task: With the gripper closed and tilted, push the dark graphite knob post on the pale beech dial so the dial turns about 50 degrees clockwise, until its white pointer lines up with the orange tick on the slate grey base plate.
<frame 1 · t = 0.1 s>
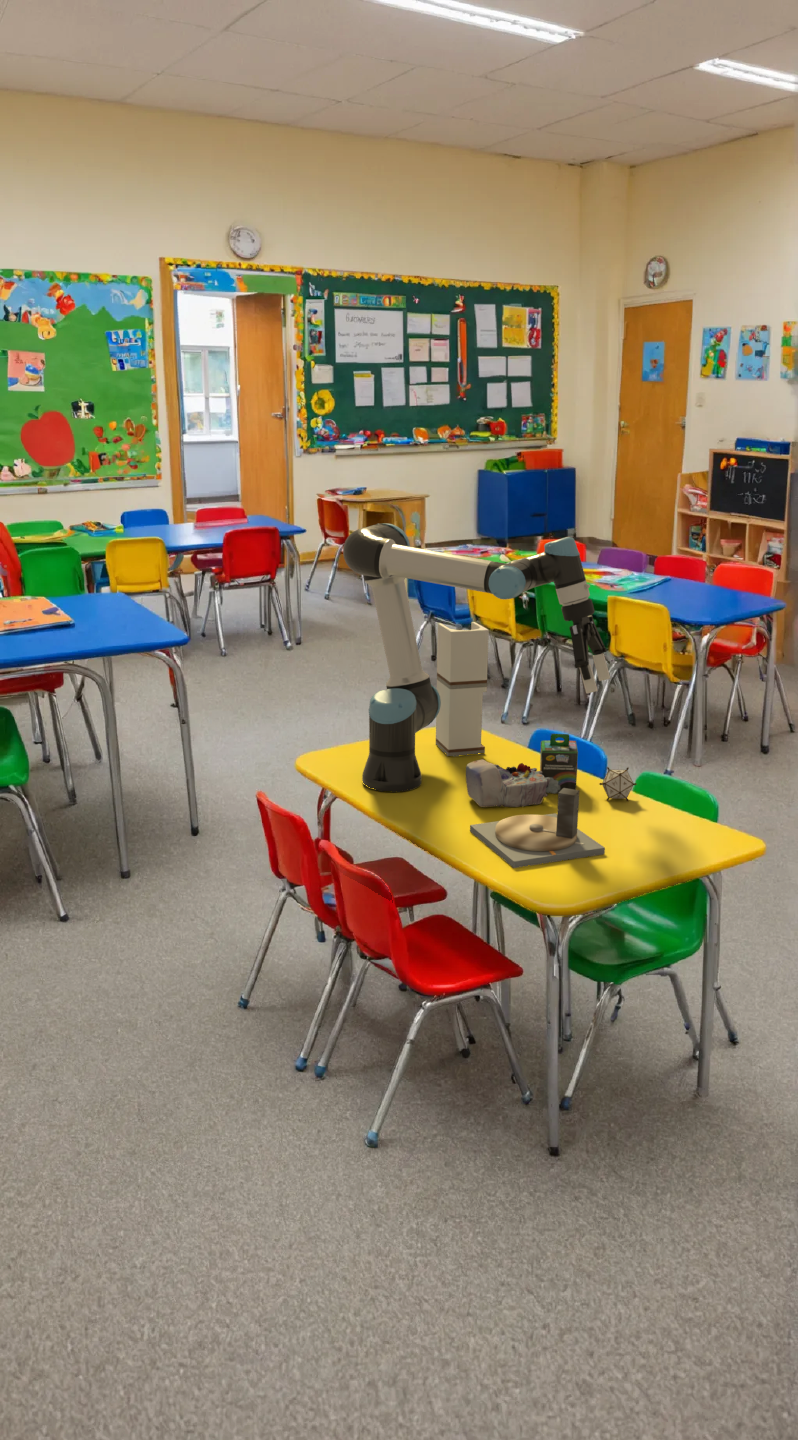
hand: (598, 685, 272), 28 cm above the table, tool tilted 20°, fingers open, 13 cm apart
tall cream pedestal vase: (459, 749, 314), on the table
dial base plate: (535, 842, 249), on the table
game die: (616, 800, 276), on the table
cell model: (507, 802, 274), on the table
chalk box: (557, 789, 284), on the table
dial: (537, 811, 247), point 7 cm above the table, hinge at 0.0°
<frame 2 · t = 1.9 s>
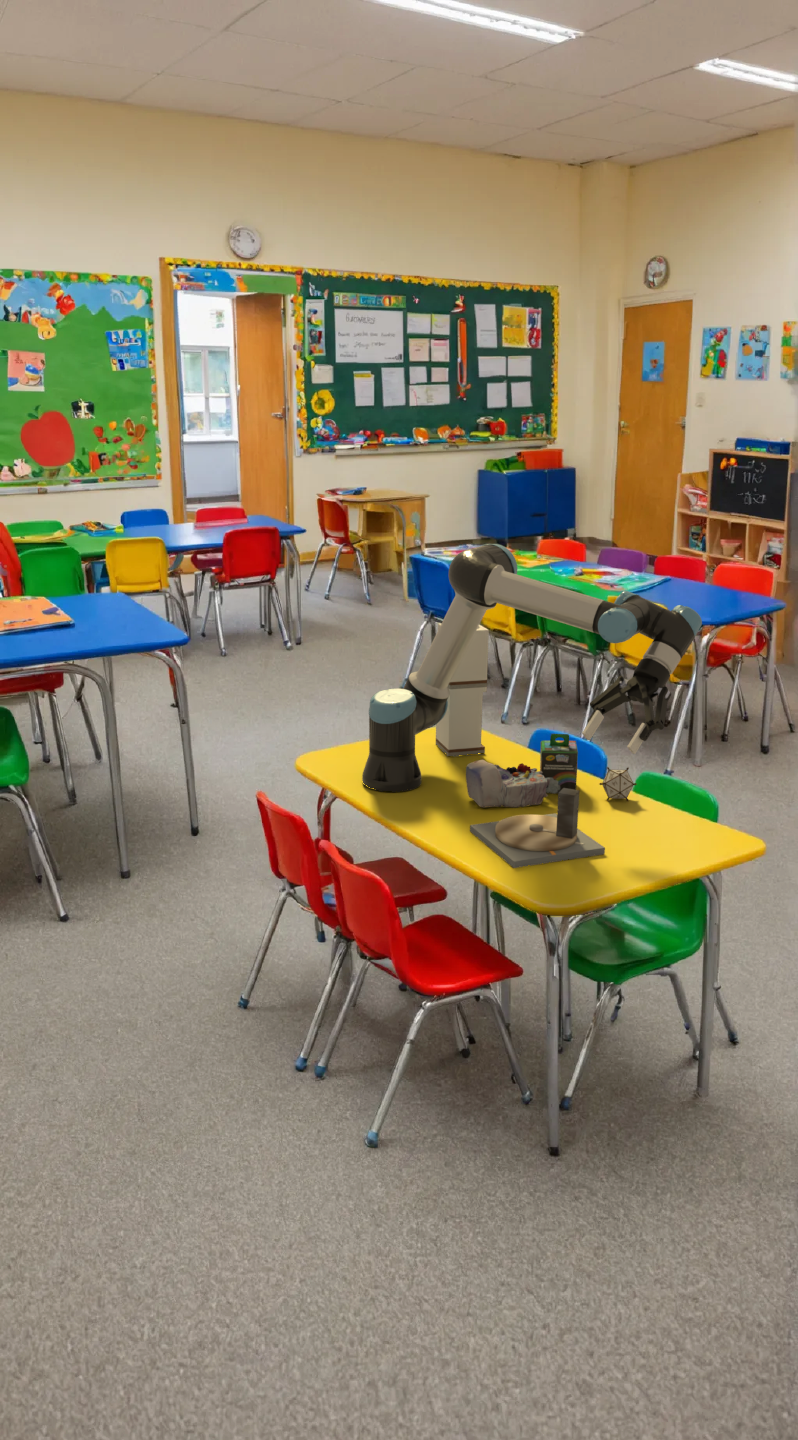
hand: (607, 743, 247), 22 cm above the table, tool tilted 45°, fingers open, 12 cm apart
nothing on the table moved.
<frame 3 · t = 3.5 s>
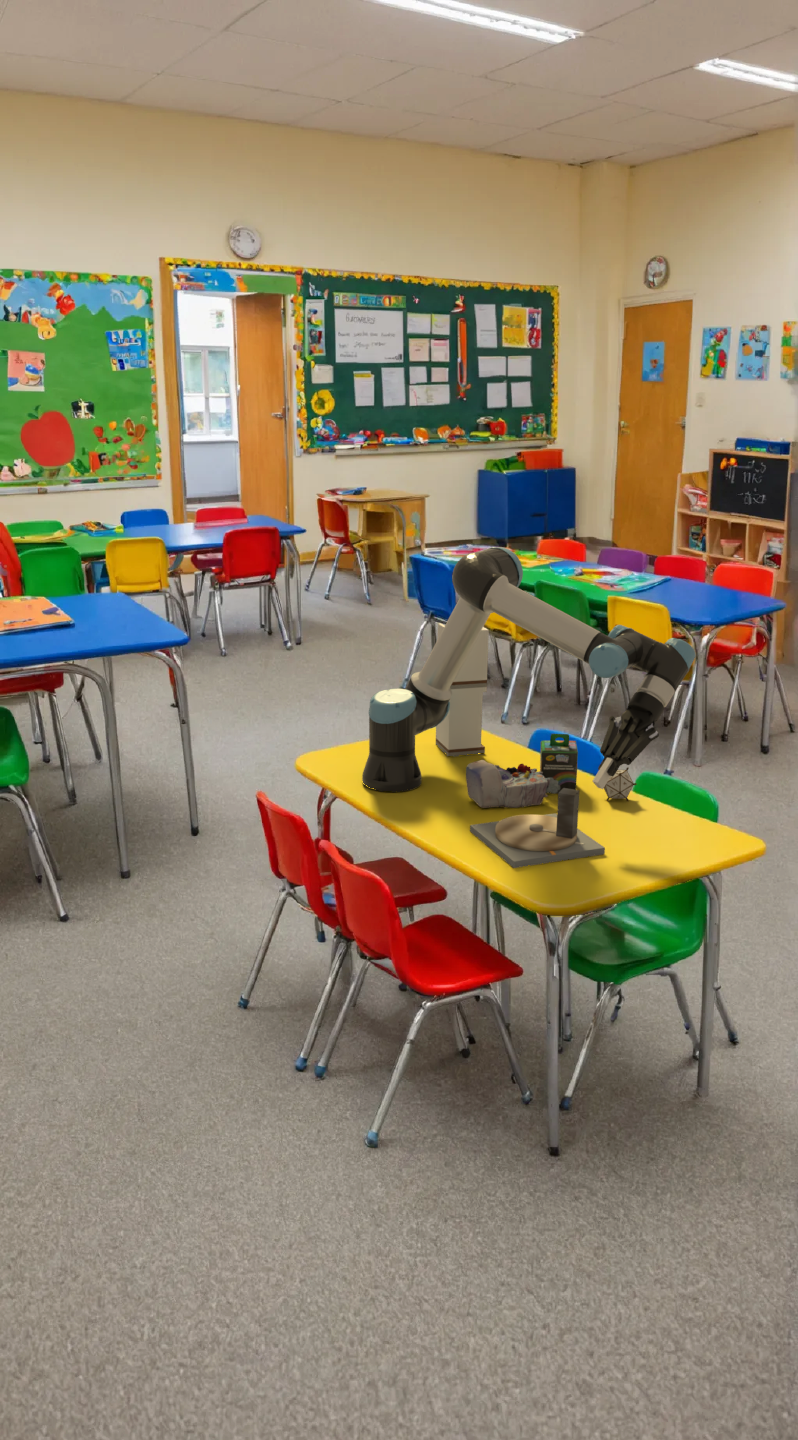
hand: (597, 785, 247), 13 cm above the table, tool tilted 45°, fingers closed
nothing on the table moved.
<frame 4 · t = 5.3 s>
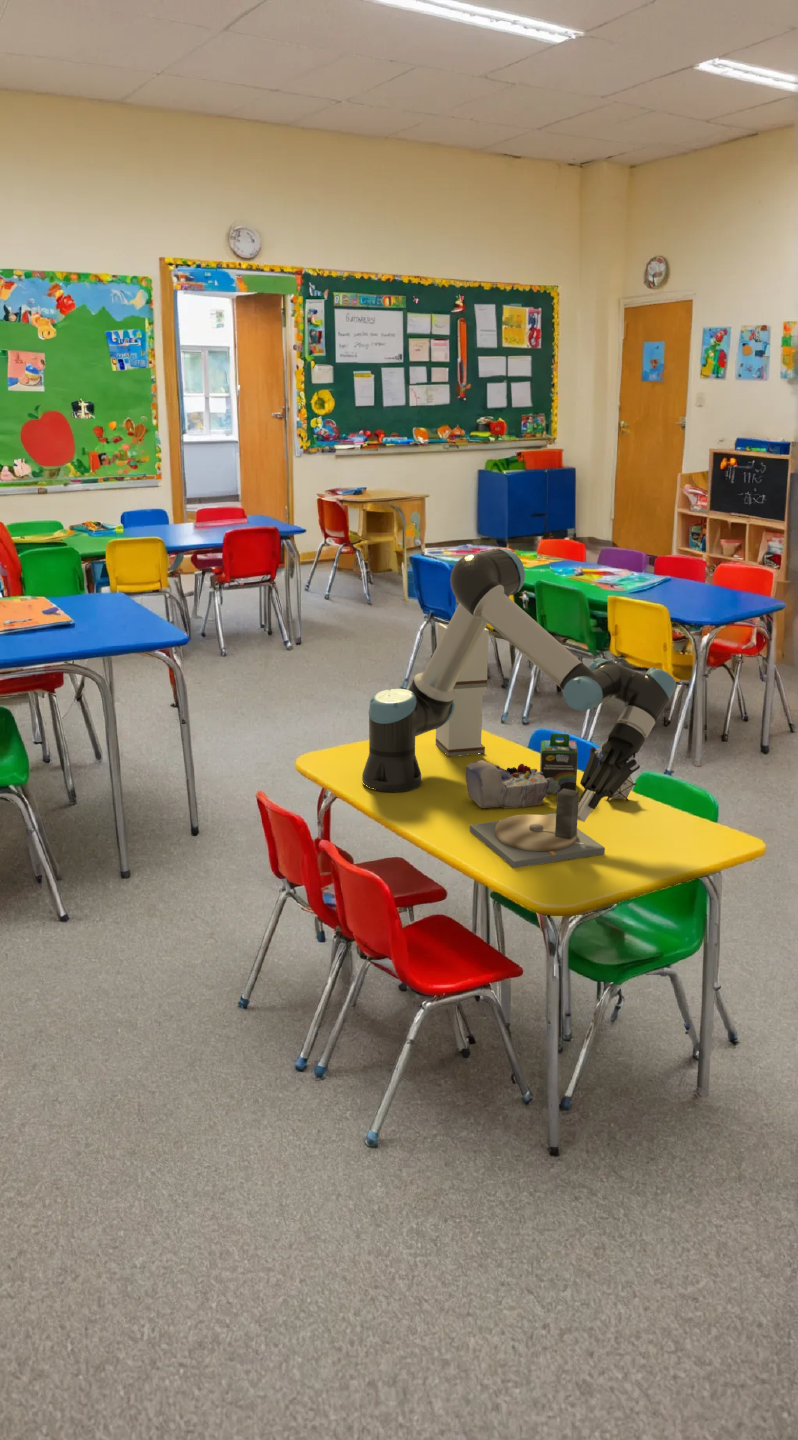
hand: (578, 818, 246), 6 cm above the table, tool tilted 45°, fingers closed
dial: (537, 811, 247), point 7 cm above the table, hinge at -4.1°, touching gripper
everything else where it was.
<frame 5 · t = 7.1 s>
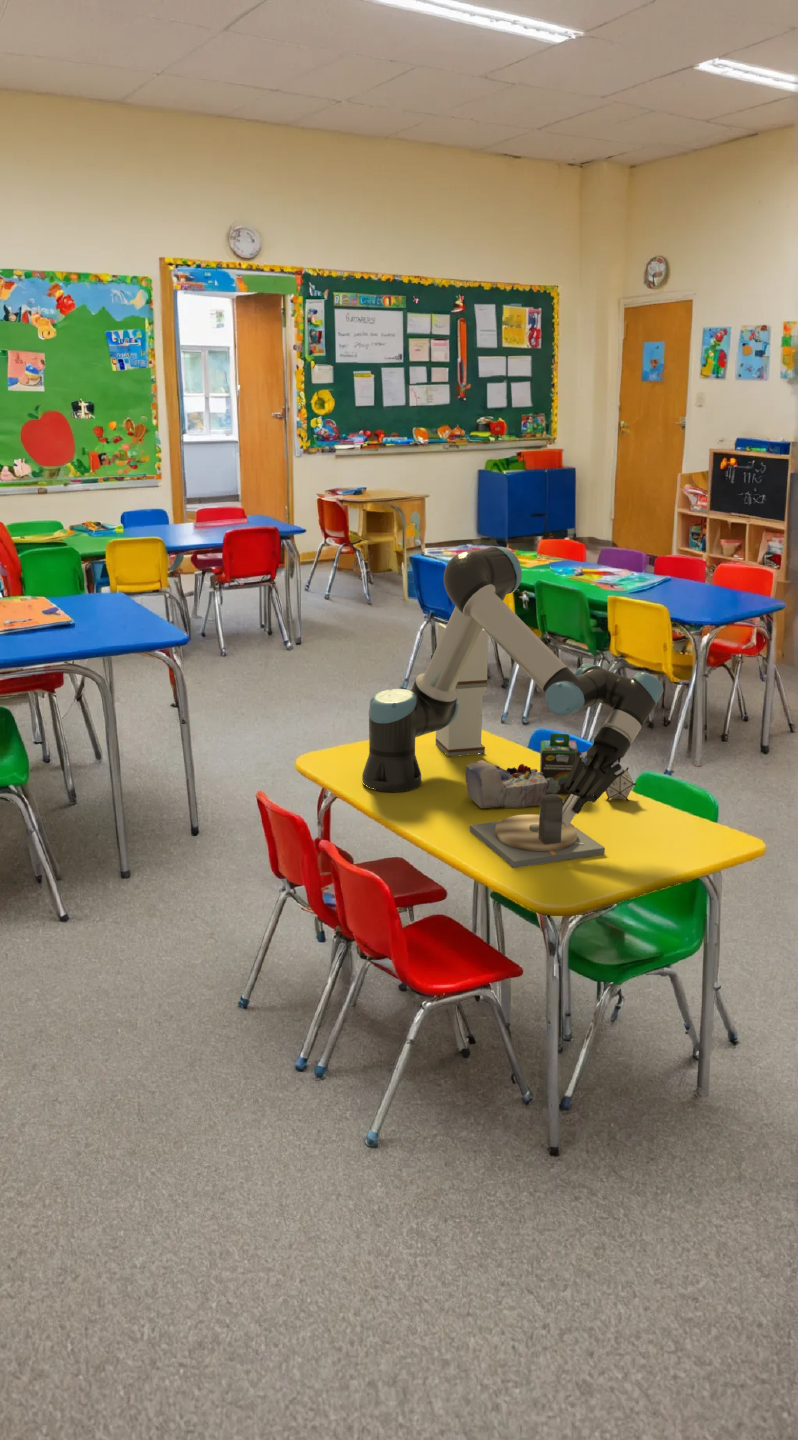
hand: (561, 822, 243), 7 cm above the table, tool tilted 45°, fingers closed
dial: (537, 811, 247), point 7 cm above the table, hinge at -46.8°
everything else where it was.
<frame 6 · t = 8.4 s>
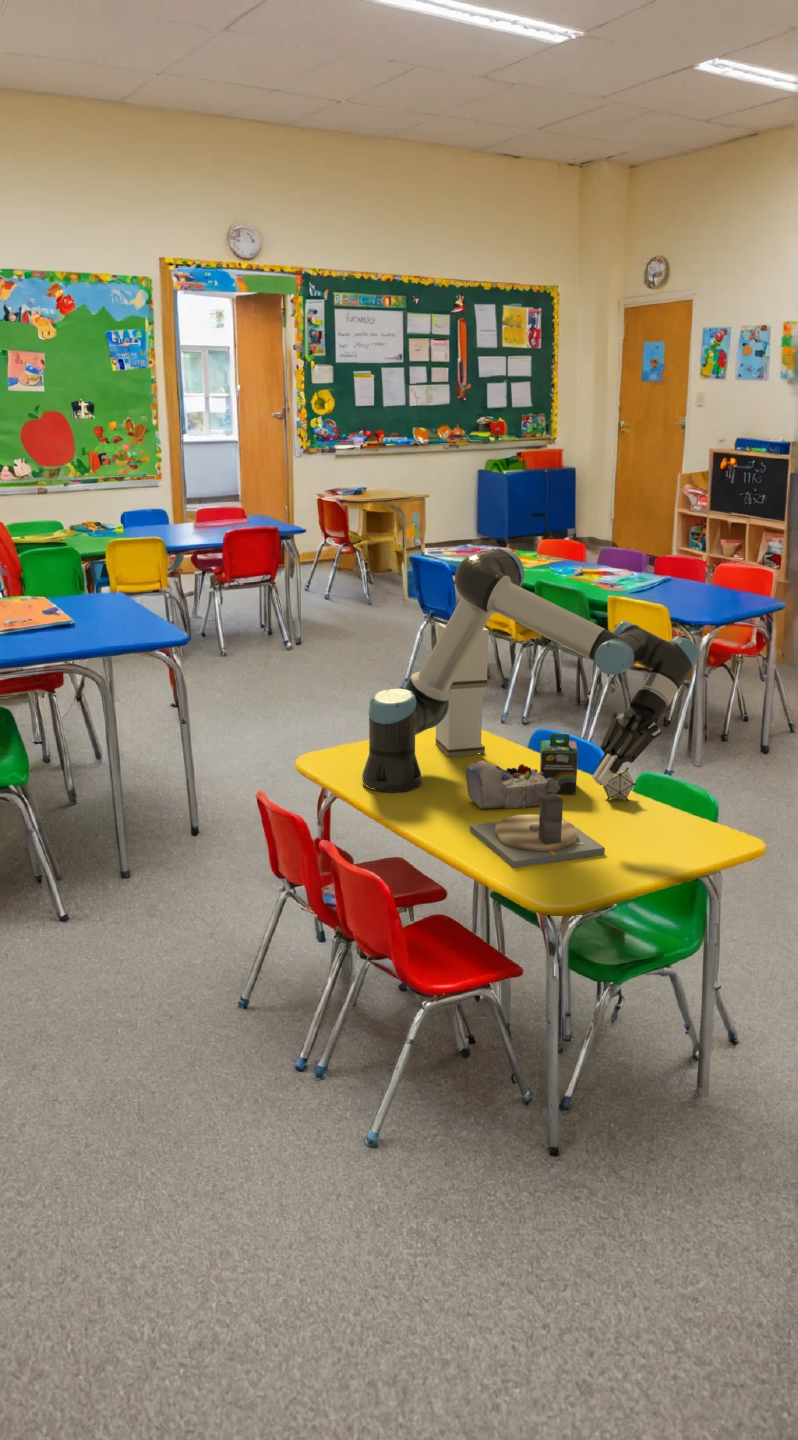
hand: (598, 781, 248), 13 cm above the table, tool tilted 45°, fingers closed
nothing on the table moved.
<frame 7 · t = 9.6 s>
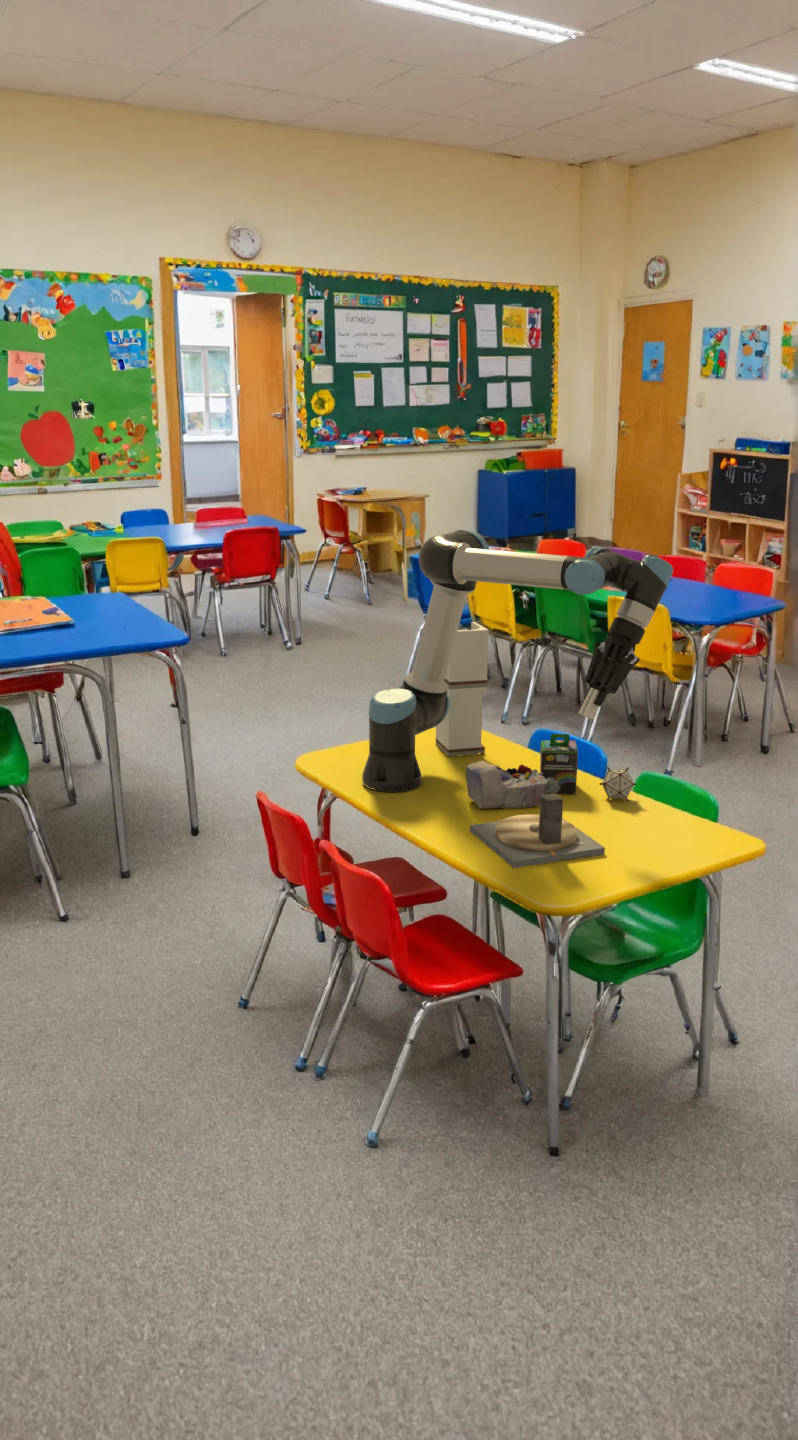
hand: (585, 716, 254), 26 cm above the table, tool tilted 30°, fingers closed
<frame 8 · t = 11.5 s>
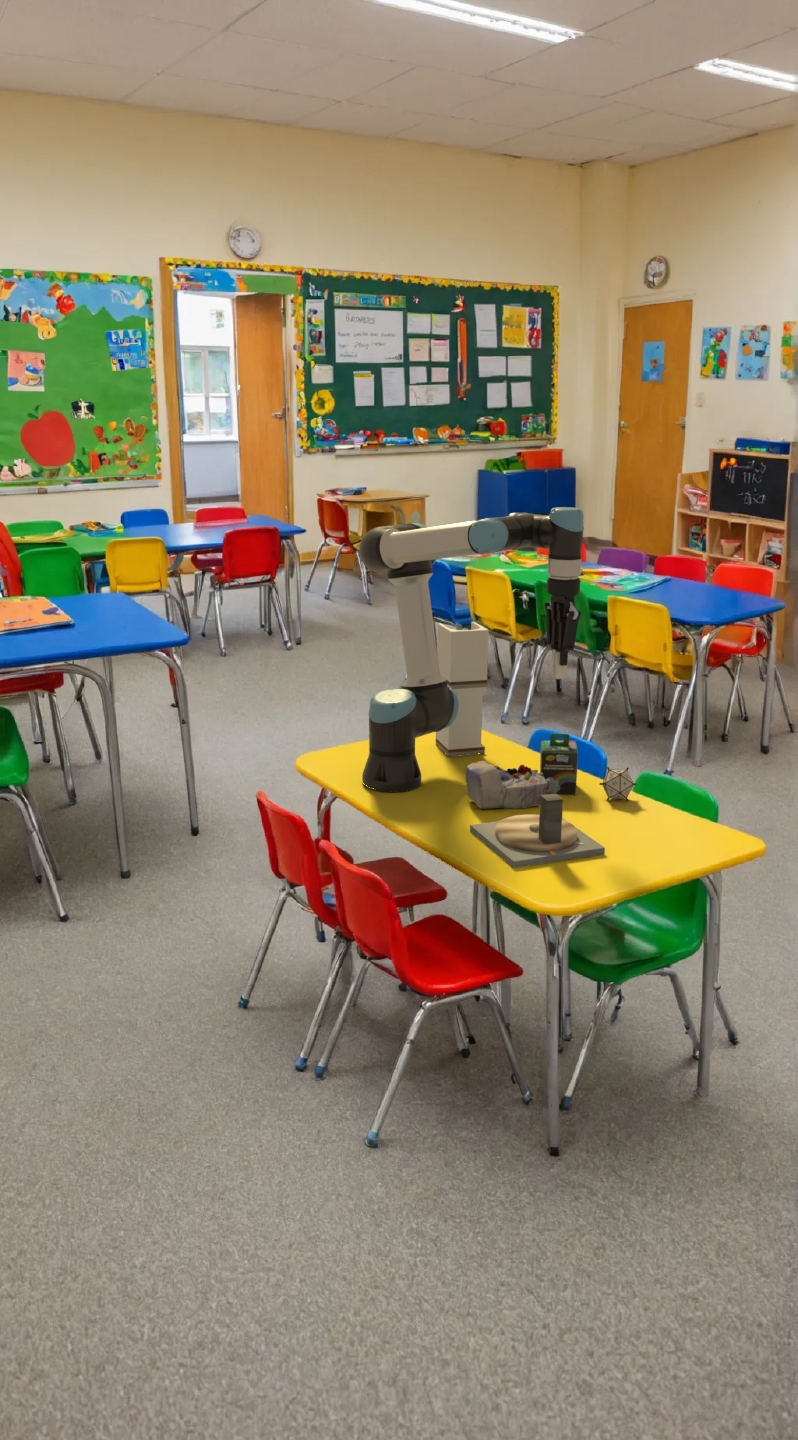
hand: (558, 677, 261), 32 cm above the table, tool pointing down, fingers closed
at the end: dial at -47° (first picture: +0°) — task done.
